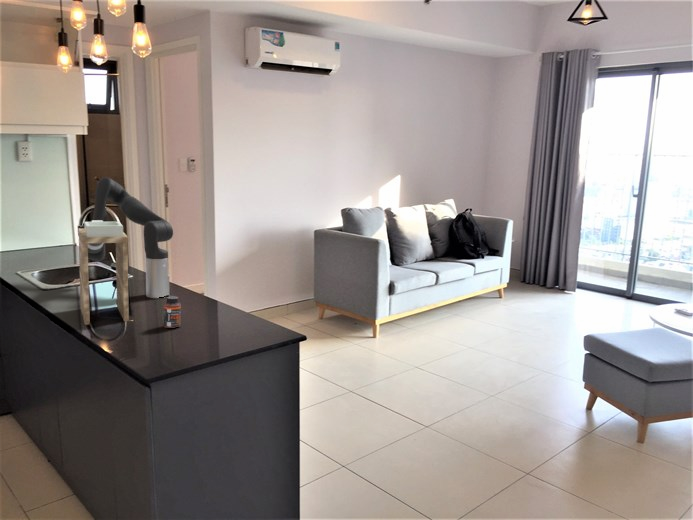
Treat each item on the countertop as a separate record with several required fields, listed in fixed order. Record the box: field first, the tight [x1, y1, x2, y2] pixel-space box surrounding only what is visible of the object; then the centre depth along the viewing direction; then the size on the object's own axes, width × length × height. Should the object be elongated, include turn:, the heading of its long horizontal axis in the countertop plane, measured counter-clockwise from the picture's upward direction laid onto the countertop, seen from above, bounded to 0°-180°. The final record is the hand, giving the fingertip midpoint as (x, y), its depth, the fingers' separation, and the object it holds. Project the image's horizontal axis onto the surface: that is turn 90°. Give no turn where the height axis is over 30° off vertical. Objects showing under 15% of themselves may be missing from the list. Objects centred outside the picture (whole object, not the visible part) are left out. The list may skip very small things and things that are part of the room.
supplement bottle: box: [163, 295, 182, 329], centre depth 212 cm, size 6×6×11 cm
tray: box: [83, 219, 124, 237], centre depth 221 cm, size 12×32×4 cm, turn 28°
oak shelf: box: [77, 227, 130, 325], centre depth 220 cm, size 15×24×32 cm, turn 28°
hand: (97, 223), depth 233 cm, fingers open, 8 cm apart
